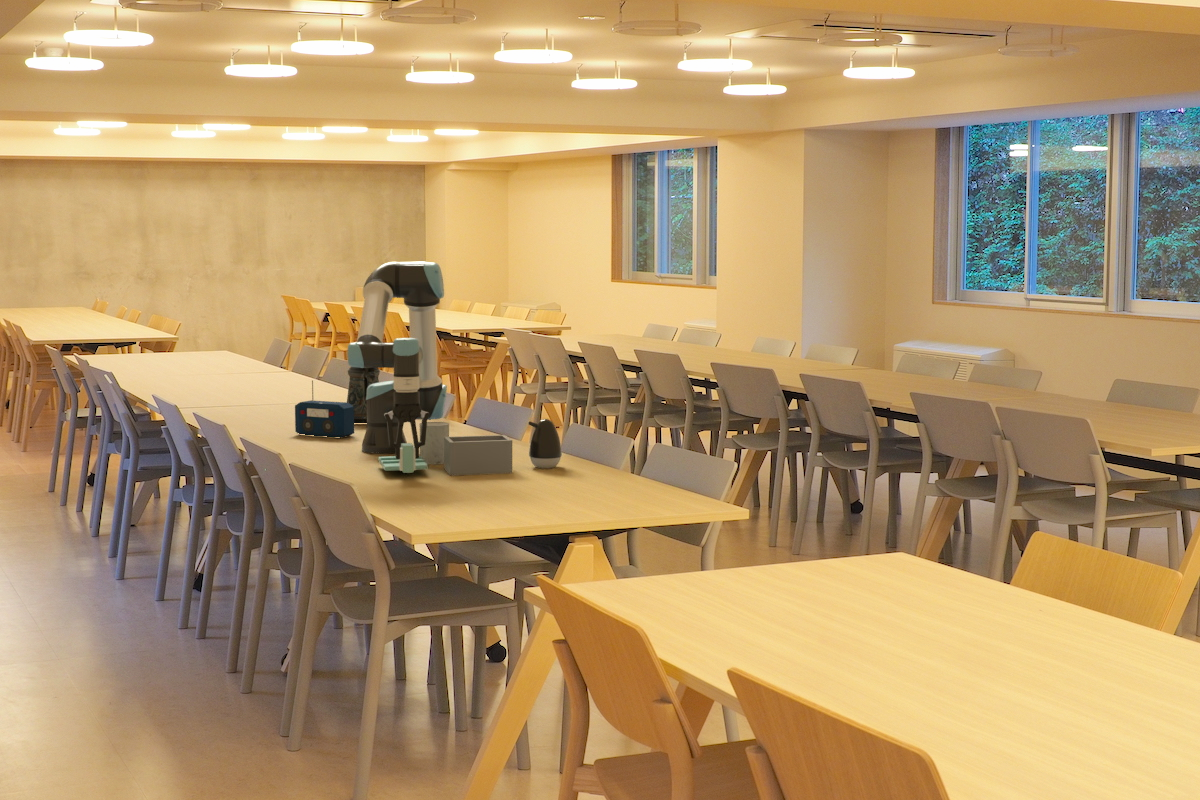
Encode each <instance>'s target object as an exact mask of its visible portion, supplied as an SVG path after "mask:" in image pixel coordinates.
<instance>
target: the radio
mask: <svg viewBox="0 0 1200 800" xmlns="http://www.w3.org/2000/svg"><path fill="white" fill-rule="evenodd" d="M311 385H312V388H311V392H312V394H311V395H312V396H311V397H312V400H306V401H300V402H298V403H297V404H295V405H294V424H295V427H294V428H295V432H296V434H298V433H299V434H305V435H314V436H327V437H340V438H339V439H342V438H341V437H343V438H346V437H345V436H347V437H350V436H351V435H353V434H355V425H354V406H352V405H351V404H349V403H347V401H346V402H343V401H340V402H339V401H330V400H329V401H327V400H324V401H323V400H314V380H311ZM299 434H298V435H299Z"/></svg>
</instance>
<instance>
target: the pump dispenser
mask: <svg viewBox="0 0 1200 800" xmlns="http://www.w3.org/2000/svg"><path fill="white" fill-rule="evenodd" d="M527 424H528V425H529V426H531V427H532V428H534V430H533V432H532V435H531V438H530V442H529V451H528V457H530V462H531V464H532V465H533V466H534V467H535V468H538V469H544V468H547V469H553V468H555V467H556V466H558V464H559V463H560V461H561V457H562V453H563V452H562V445H561V439H560V436H559V432H558V430H557V428H556V425H555V423H554V422H553V421H552V420H550V419H548V418H544V419H541V420H539V421H537V423H536V422H533V421H528V423H527Z"/></svg>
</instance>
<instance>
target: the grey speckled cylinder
mask: <svg viewBox="0 0 1200 800" xmlns="http://www.w3.org/2000/svg"><path fill="white" fill-rule="evenodd" d="M418 425H419V439H420V438H421V425H422V422H421V423H418ZM444 437H450V422H446V421H445V422H444V421H427V428H426V440H425V445H424V446H421V447H419V456H422V459H423V460H425V463H426V464H427V465H444Z"/></svg>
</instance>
